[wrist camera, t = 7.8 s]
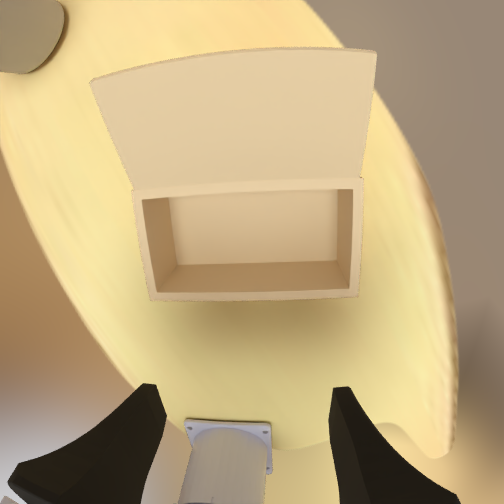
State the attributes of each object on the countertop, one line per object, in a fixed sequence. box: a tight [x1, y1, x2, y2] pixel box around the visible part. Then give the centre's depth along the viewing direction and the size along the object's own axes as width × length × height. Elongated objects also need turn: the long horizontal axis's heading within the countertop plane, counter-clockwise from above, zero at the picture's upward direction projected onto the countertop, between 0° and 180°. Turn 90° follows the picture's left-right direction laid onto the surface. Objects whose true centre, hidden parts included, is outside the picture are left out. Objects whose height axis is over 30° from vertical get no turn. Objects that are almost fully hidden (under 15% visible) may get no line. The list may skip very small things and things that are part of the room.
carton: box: [131, 177, 364, 301], centre depth 17 cm, size 6×11×4 cm, turn 94°
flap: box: [89, 47, 377, 190], centre depth 12 cm, size 6×11×1 cm
